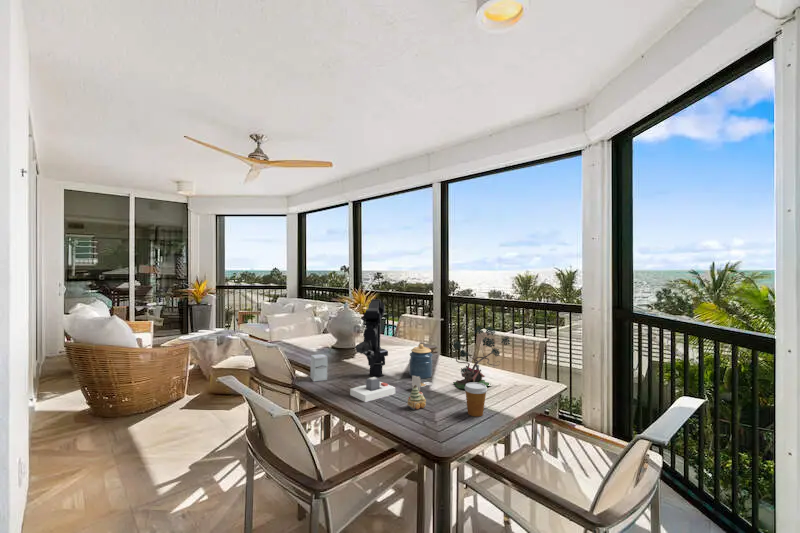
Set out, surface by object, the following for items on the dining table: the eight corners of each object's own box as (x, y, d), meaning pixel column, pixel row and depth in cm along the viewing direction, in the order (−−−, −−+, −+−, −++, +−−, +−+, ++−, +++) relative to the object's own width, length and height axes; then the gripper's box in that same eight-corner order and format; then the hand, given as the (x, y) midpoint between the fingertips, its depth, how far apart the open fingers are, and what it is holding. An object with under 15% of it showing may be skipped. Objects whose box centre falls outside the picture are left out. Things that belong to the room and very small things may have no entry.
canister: (405, 377, 216) (406, 345, 216) (413, 371, 228) (414, 340, 228) (428, 380, 211) (428, 347, 211) (435, 373, 223) (435, 343, 223)
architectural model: (416, 388, 198) (417, 374, 198) (426, 392, 193) (426, 377, 193) (411, 390, 196) (412, 375, 195) (421, 393, 190) (421, 378, 190)
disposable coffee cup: (461, 409, 169) (462, 382, 169) (483, 409, 170) (483, 381, 170) (467, 418, 160) (467, 389, 160) (489, 418, 161) (490, 389, 161)
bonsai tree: (479, 400, 181) (481, 332, 180) (441, 387, 199) (442, 325, 199) (522, 386, 203) (523, 325, 203) (484, 375, 222) (485, 319, 221)
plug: (374, 391, 190) (374, 376, 190) (379, 393, 187) (379, 378, 187) (366, 393, 187) (366, 378, 187) (371, 395, 184) (371, 380, 184)
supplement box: (313, 382, 204) (314, 358, 204) (310, 378, 211) (310, 354, 211) (327, 380, 208) (327, 356, 207) (323, 376, 214) (323, 353, 214)
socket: (379, 387, 197) (379, 379, 197) (395, 393, 188) (395, 385, 188) (350, 395, 185) (350, 387, 185) (365, 402, 176) (365, 393, 176)
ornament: (419, 403, 176) (419, 381, 176) (428, 407, 172) (428, 384, 171) (405, 407, 171) (405, 384, 171) (414, 411, 167) (414, 388, 166)
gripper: (347, 334, 193) (346, 366, 193) (370, 341, 179) (369, 375, 179) (365, 331, 200) (364, 362, 201) (389, 338, 186) (388, 370, 187)
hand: (371, 367), depth 192 cm, fingers closed
